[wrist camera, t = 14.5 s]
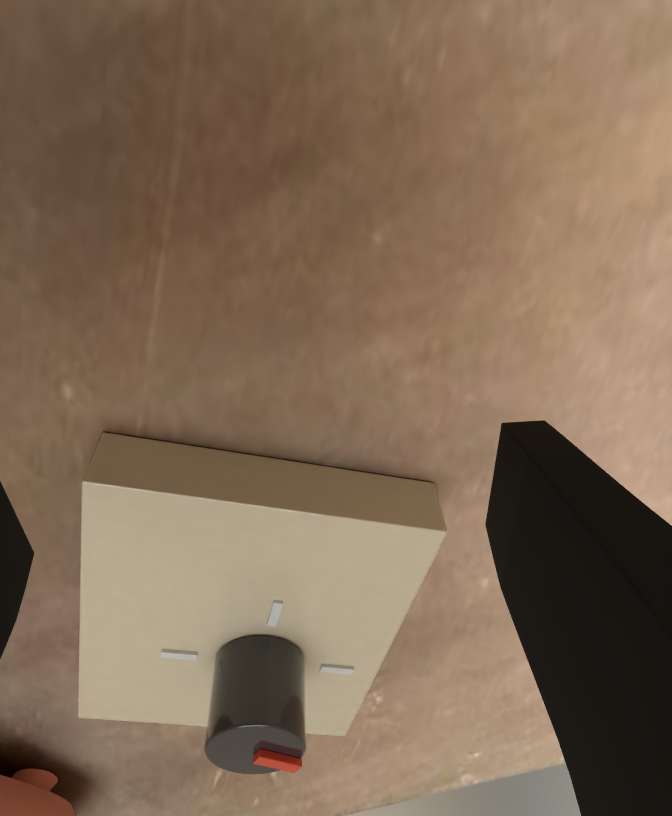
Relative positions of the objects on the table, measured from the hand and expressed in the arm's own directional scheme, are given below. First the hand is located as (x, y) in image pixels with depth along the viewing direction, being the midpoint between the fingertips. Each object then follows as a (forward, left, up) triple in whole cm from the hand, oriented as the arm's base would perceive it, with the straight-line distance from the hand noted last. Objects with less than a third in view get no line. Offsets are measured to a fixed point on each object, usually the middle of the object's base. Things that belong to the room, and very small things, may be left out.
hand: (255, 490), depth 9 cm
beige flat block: (+15, +2, -10) cm, 18 cm away
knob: (+16, +3, -8) cm, 18 cm away
